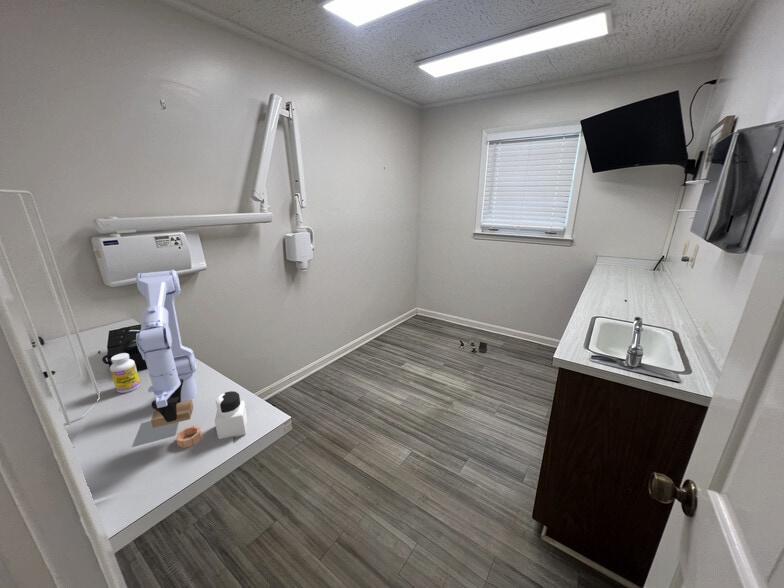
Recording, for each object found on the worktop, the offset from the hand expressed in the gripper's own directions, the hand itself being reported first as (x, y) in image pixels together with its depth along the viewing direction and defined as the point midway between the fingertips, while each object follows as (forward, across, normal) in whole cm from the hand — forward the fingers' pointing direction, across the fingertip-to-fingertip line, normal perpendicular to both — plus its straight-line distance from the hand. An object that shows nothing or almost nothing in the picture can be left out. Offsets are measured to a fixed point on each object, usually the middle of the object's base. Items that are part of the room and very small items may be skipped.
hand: (174, 413), depth 85 cm
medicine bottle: (+9, +2, +14) cm, 17 cm away
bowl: (+9, +2, +3) cm, 10 cm away
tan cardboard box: (+1, 0, 0) cm, 1 cm away
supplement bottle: (+9, -36, -21) cm, 42 cm away
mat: (+9, -6, -6) cm, 13 cm away
